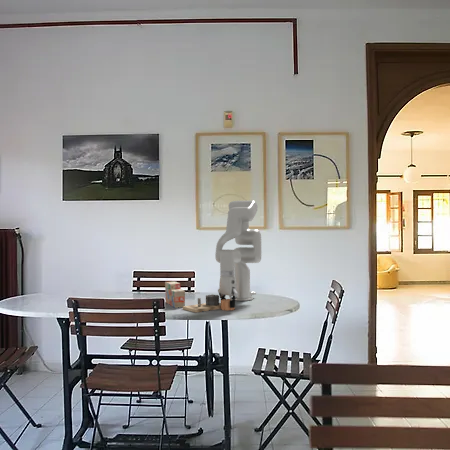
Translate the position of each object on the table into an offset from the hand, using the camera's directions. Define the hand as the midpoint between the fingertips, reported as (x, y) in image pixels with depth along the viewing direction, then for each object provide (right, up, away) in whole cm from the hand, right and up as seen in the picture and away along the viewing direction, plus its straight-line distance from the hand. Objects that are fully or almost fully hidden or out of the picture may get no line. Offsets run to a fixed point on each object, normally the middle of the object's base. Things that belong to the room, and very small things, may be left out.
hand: (227, 306), depth 260 cm
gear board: (-12, -2, +4) cm, 13 cm away
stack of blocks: (-30, -2, +18) cm, 35 cm away
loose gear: (0, -2, 0) cm, 2 cm away
